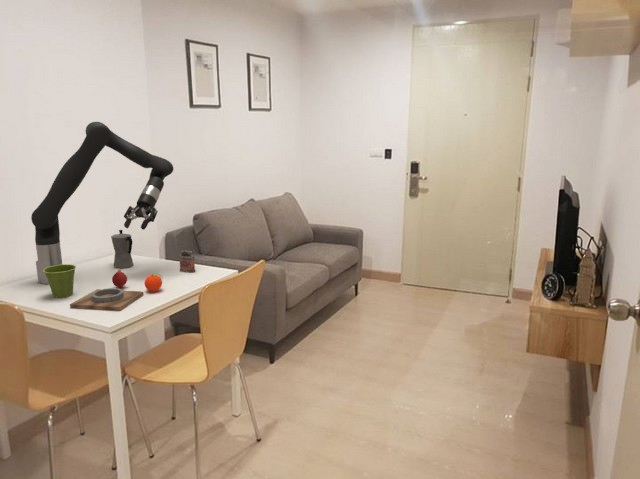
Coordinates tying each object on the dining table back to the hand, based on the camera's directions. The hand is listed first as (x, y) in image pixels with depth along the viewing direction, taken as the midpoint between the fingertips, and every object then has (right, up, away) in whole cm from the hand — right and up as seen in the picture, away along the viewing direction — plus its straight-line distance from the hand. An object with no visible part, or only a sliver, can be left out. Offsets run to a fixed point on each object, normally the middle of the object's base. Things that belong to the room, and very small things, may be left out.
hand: (134, 227), depth 218 cm
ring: (-2, -28, -22) cm, 35 cm away
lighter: (+18, -20, +19) cm, 33 cm away
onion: (-4, -26, -5) cm, 26 cm away
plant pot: (-23, -28, -14) cm, 39 cm away
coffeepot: (-14, -18, +27) cm, 35 cm away
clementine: (+12, -26, -9) cm, 30 cm away
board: (-2, -29, -21) cm, 36 cm away
